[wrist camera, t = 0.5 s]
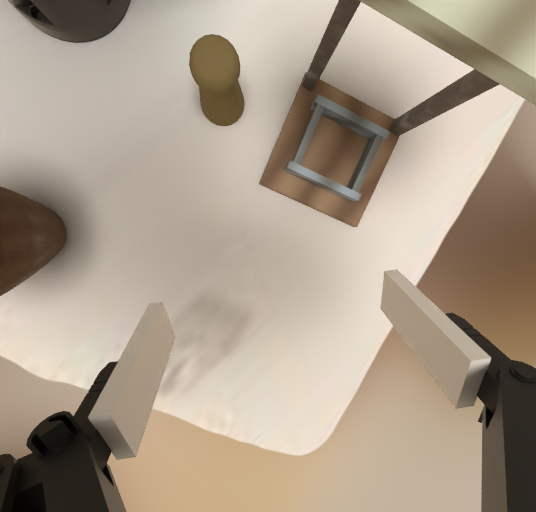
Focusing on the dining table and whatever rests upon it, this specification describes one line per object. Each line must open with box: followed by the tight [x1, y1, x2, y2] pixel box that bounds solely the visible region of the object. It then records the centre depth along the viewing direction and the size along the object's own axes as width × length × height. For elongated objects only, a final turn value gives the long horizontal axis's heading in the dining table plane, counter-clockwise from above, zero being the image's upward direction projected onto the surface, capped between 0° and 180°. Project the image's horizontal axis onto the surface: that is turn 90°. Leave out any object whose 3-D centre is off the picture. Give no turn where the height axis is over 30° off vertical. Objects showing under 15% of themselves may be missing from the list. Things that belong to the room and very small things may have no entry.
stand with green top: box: [260, 0, 536, 227], centre depth 25 cm, size 17×16×27 cm
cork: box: [189, 34, 244, 126], centre depth 31 cm, size 6×6×11 cm
